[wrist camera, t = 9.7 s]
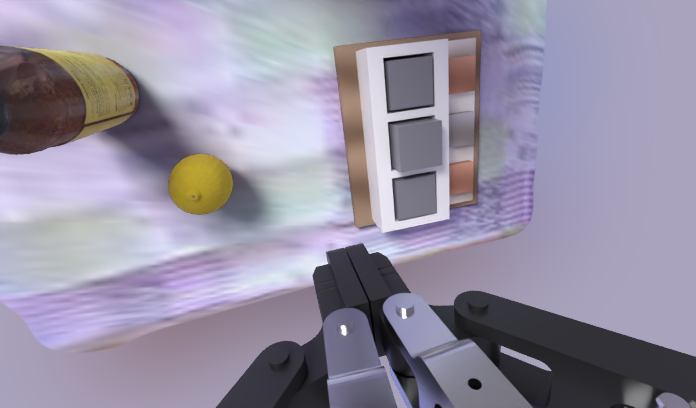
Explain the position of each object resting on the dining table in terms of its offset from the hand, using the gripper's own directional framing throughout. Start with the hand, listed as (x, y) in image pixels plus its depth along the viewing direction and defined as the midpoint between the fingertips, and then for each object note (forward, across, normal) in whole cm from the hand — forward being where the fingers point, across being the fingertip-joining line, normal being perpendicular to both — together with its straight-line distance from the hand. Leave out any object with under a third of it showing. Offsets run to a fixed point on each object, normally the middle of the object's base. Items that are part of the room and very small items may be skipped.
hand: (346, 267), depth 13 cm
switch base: (+25, -14, +1) cm, 29 cm away
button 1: (+24, -12, -5) cm, 27 cm away
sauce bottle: (+26, +16, -8) cm, 31 cm away
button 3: (+24, -11, +7) cm, 27 cm away
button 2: (+22, -11, +1) cm, 25 cm away
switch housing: (+25, -12, +1) cm, 28 cm away
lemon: (+26, +10, +1) cm, 27 cm away
